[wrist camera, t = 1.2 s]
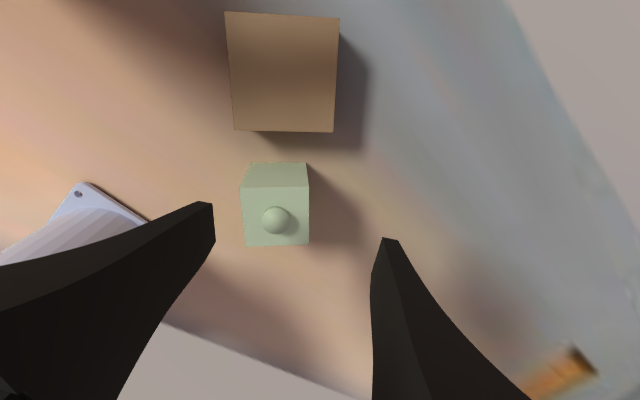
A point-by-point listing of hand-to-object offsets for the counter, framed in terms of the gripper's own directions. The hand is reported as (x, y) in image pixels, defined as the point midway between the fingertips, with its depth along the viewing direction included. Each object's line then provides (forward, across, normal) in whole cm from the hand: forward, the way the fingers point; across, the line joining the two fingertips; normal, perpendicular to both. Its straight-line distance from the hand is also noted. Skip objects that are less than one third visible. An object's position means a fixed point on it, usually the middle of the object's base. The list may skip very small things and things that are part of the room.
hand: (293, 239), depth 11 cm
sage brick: (+9, +3, +3) cm, 10 cm away
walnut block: (+10, +4, -5) cm, 12 cm away
